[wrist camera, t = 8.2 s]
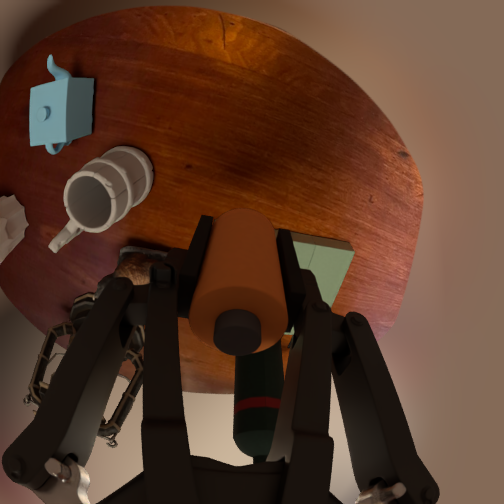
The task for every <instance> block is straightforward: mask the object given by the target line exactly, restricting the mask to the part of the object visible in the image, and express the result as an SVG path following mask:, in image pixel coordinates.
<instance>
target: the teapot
mask: <svg viewBox="0 0 504 504" xmlns="http://www.w3.org/2000/svg"><path fill="white" fill-rule="evenodd" d="M47 67H48V70H49V72H50V73H51V74H53V75H54V77H55V79H56V81H53V82H50V83H46V84H43V85H39V86H36V87H33V88H31V94H30V146H36V145H44V144H46V149H47V151H48V152H49V153H50V154H57V153H58V152H60V150H61V149H62V148H63V146H64V145H69V144H70V143H71V141H72V140H74V139H77V138H80V137H83V136H86V135H89V134H92V121H93V118H92V101H93V94H94V89H93V86H94V78H72V76H71V74H70V73H69V72H68V71H67V70H65V69H62V68H60V67H58V66H56V65H55V63H54V61H53V57H52V55H49V57H48V60H47ZM52 143H58V145H57V146H56V148H55V149H54V148H53V144H52Z"/></svg>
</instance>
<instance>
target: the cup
mask: <svg viewBox="0 0 504 504" xmlns="http://www.w3.org/2000/svg"><path fill="white" fill-rule="evenodd" d="M28 225H29V224H28V223H27V221H26V217H25V213H24V206H22V205H21V204H20V203H19V202H18V201H17V200H16V198H15V196H14V195H12V196H10V197H6V196H2V197H0V263H1V262H2V261H3V260H4V259H5V257H6V256H7V255H8V254H9V253H10V252H11V251H12V249H13V248H14V247H15V246H16V245H17V244H18V243H19V242H20V241H21V240H22V239H23V238H24V232H25V229H26V227H27V226H28Z"/></svg>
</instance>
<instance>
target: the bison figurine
mask: <svg viewBox="0 0 504 504" xmlns="http://www.w3.org/2000/svg"><path fill="white" fill-rule="evenodd" d="M167 254H168V253H167V252H164V251H160V250H153V249H147V248H142V247H136V246H126V247H123V248H122V249H121V250H120V256H119V259H118V263H117V264H118V266H117V268H116V269H115V271H114V273H112V274H109V275H107V276H105V277H104V278H103V279H102V280H101V281H100V282H99V283H98V285H97V287H98V288H97V291H96V292H95V293H94V295H93V300H95V297H97V298H98V297H99V295H100V294H101V292H102V291H103V289H104V288H105V286H106V285H107V283H108V282H109V281H110V280H111V279H113V278H115V277H127V278H129V279H130V280H132V282H133V284H134V285H143V284H148V283H150V281H149V268H150V266H151V265H152V264H153V263H156V262H159V261H164V260H165V258H166V256H167Z"/></svg>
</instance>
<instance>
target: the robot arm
mask: <svg viewBox="0 0 504 504" xmlns="http://www.w3.org/2000/svg"><path fill="white" fill-rule="evenodd" d="M212 222H213V217H211V216H205V215H202V216H201V218H200V221H199V223H198V226H197V228H196V231H195V233H194V236H193V238H192V241H191V243H190V246H189V249H188V250H185V249H179V248H173V249H171V250H170V251H169V252H168V254H167V256H166V258H165V260H164V261H159V262H156V263H153V264H152V265H151V266H150V268H149V281H150V283H148V284H143V285H134V284H133V282H132V280H130V279H129V278H127V277H115V278H113V279H111V280H110V281H109V282H108V283H107V285H106V286H105V288H104V289H103V291H102V292H101V294H100V295H99V297H98V298H97V300H96V302H95V303H94V305H93V306H92V308H91V310H90V311H89V313H88V314H87V316H86V318H85V319H84V321H83V323H82V324H81V326H80V328H79V330H78V331H77V333H76V335H75V337H74V338H73V340H72V342H71V344H70V345H69V347H68V349H67V351H66V353H65V355H64V356H63V359H62V360H61V362H60V364H59V366H58V368H57V370H56V372H55V374H54V376H53V378H52V380H51V382H50V384H49V386H48V388H47V391H46V393H45V395H44V397H43V399H42V401H41V404H40V406H39V408H38V411H37V413H36V415H35V418H34V420H33V421H32V422H31V423H30V425H28V427H27V428H26V429H25V430H24V431H23V432H22V433H21V434H20V435H19V436H18V438H16V440H15V441H14V442H13V443H12V444H11V445H10V446H9V447H8V448H7V450H6V451H5V452H4V454H3V457H2V465H3V469H4V471H5V473H6V474H7V476H8V477H9V478H10V479H11V480H12V481H13V482H15V483H18V484H20V485H22V486H25V487H27V488H29V489H30V490H32V491H33V492H34V493H35V494H36V495H37V496H38V497H39V498H40V499H41V500H42V501H43V502H44V503H45V504H90V503H89V501H88V498H87V491H88V487H89V484H90V479H89V476H88V473H87V472H86V470H85V469H84V467H85V465H86V463H87V461H88V459H89V457H90V454H91V452H92V448H93V446H94V442H95V438H96V436H97V433H98V429H99V426H100V423H101V420H102V417H103V414H104V411H105V408H106V405H107V402H108V399H109V397H110V394H111V391H112V388H113V386H114V383H115V380H116V377H117V375H118V372H119V370H120V367H121V364H122V362H123V359H124V357H125V354H126V352H127V349H128V347H129V344H130V342H131V340H132V337H133V335H134V332H135V330H136V328H137V326H139V325H145V339H144V359H143V420H142V423H141V440H142V456H143V469H144V471H143V472H141V473H140V474H139V475H137V476H136V477H135V478H133V479H132V480H130V481H129V482H128V483H126V484H125V485H123V486H122V487H121V488H119V489H118V490H116V491H115V492H113V493H112V494H110V495H109V496H107V497H106V498H104V499H103V500H101V501H100V502H98V503H96V504H343V503H342V502H341V501H339V500H338V499H337V498H336V497H335V496H334V495H333V494H332V493H331V492H330V491H329V489H330V480H331V472H332V462H333V451H334V441H333V438H332V437H330V436H329V434H328V429H329V415H330V397H331V372H332V376H333V380H334V384H335V388H336V393H337V397H338V401H339V406H340V410H341V414H342V419H343V423H344V428H345V433H346V437H347V442H348V447H349V452H350V457H351V462H352V468H353V472H354V476H355V480H356V483H357V485H358V488H359V490H360V492H361V493H360V494H359V497H358V498H357V499H356V501H355V504H436V502H437V501H438V498H439V495H440V493H439V487H438V485H437V483H436V482H435V480H434V479H433V477H432V476H431V474H430V473H429V471H428V470H427V468H426V467H425V466H424V464H423V462H422V461H421V459H420V458H419V456H418V455H417V452H416V449H415V446H414V442H413V439H412V436H411V433H410V430H409V426H408V423H407V420H406V417H405V414H404V412H403V409H402V406H401V403H400V400H399V397H398V395H397V392H396V389H395V386H394V384H393V381H392V379H391V376H390V373H389V371H388V368H387V366H386V363H385V361H384V358H383V356H382V353H381V351H380V348H379V346H378V344H377V341H376V339H375V337H374V334H373V332H372V330H371V327H370V325H369V323H368V321H367V319H366V318H365V317H364V316H363V315H361V314H360V313H357V312H349V313H347V314H346V316H345V317H343V316H340V315H337V314H335V313H333V312H331V307H330V306H329V305H328V304H327V303H326V302H324V301H323V300H322V296H321V293H320V290H319V287H318V284H317V280H316V277H315V275H314V274H313V273H312V271H311V270H308V269H302V268H300V266H299V262H298V258H297V255H296V251H295V247H294V243H293V240H292V236H291V232H290V231H289V230H284V229H279V230H278V234H277V238H276V243H277V249H278V255H279V261H280V267H281V274H282V280H283V286H284V293H285V300H286V306H287V313H288V326H287V329H286V331H285V332H286V333H290V332H291V330H292V328H293V326H294V334H293V336H292V339H291V341H290V343H289V345H288V347H287V348H290V351H289V357H288V363H287V369H286V375H285V381H284V386H283V392H282V397H281V402H280V408H279V413H278V418H277V423H276V428H275V432H274V437H273V442H272V446H271V450H270V453H269V455H268V457H267V459H266V461H265V462H260V463H255V464H250V465H245V466H233V465H230V464H226V463H223V462H220V461H217V460H214V459H211V458H208V457H201V456H194V455H190V449H189V442H188V435H187V427H186V422H185V416H184V407H183V396H182V385H181V373H180V358H179V340H178V317H183V318H188V319H189V310H190V306H191V302H192V298H193V294H194V291H195V287H196V283H197V279H198V276H199V272H200V268H201V264H202V261H203V257H204V254H205V250H206V246H207V243H208V239H209V236H210V232H211V228H212ZM177 311H178V314H177Z"/></svg>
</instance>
